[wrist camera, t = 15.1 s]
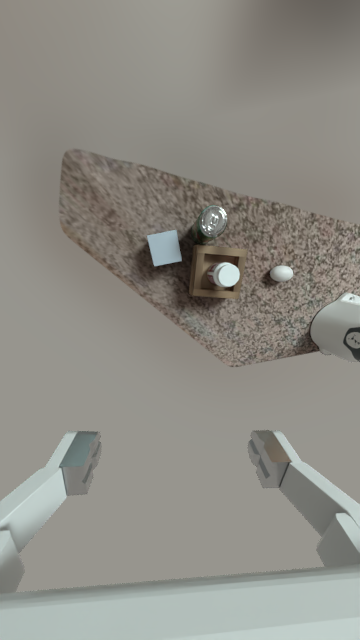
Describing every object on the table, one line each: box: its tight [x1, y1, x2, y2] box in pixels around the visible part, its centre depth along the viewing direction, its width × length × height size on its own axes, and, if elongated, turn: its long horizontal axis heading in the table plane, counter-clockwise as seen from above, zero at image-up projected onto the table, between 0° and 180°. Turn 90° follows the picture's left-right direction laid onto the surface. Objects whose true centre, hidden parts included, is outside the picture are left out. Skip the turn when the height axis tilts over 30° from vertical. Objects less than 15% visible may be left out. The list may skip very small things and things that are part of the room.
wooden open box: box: [189, 245, 248, 299], centre depth 40 cm, size 11×11×6 cm
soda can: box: [191, 205, 227, 244], centre depth 34 cm, size 5×5×12 cm
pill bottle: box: [207, 262, 240, 287], centre depth 35 cm, size 5×5×8 cm
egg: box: [270, 266, 293, 282], centre depth 42 cm, size 4×6×4 cm, turn 83°
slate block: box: [147, 230, 182, 266], centre depth 38 cm, size 6×6×6 cm
